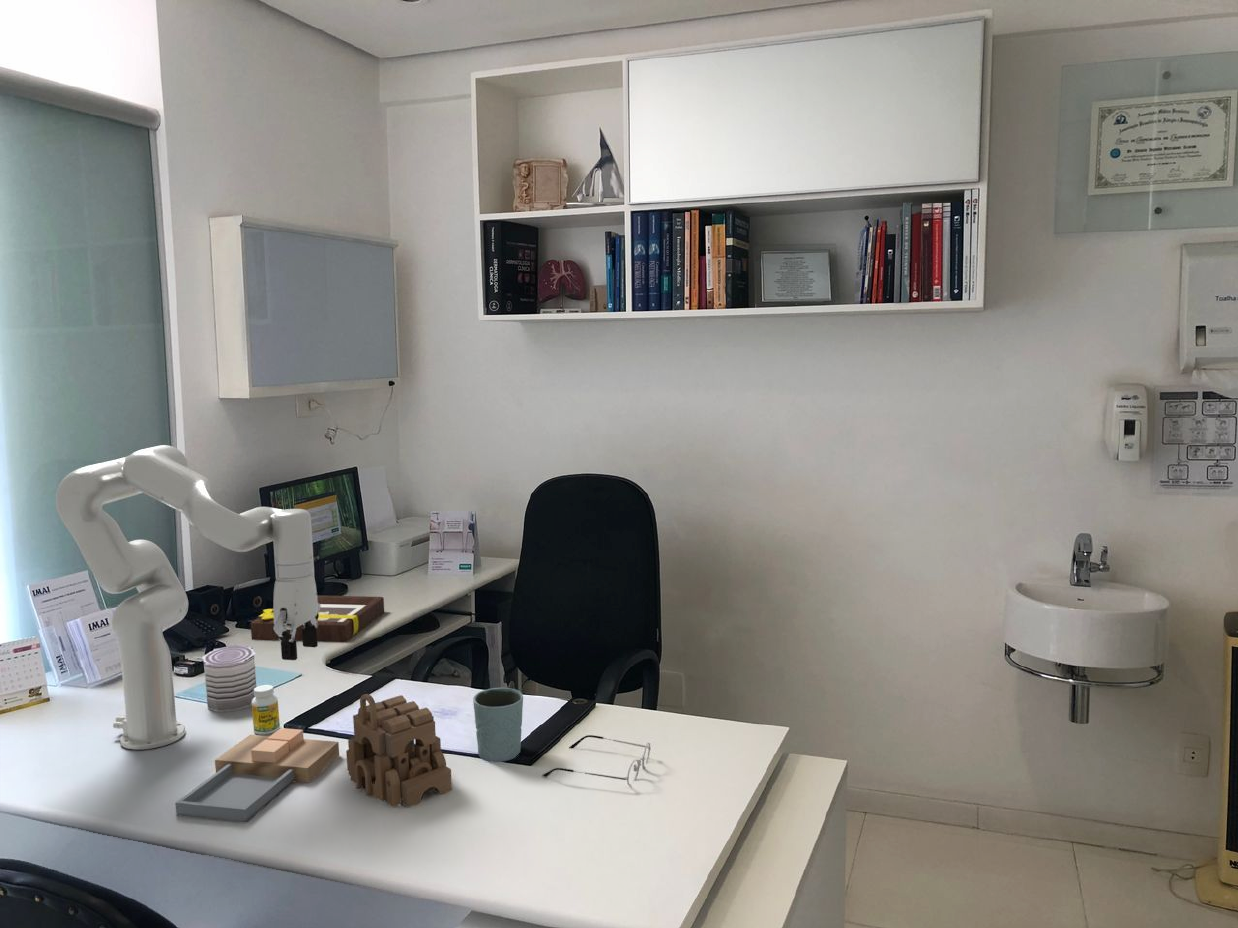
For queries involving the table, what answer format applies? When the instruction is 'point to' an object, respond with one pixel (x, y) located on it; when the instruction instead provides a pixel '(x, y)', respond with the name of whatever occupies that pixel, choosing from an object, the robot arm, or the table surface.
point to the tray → (232, 795)
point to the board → (281, 759)
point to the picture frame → (328, 619)
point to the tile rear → (288, 736)
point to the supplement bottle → (265, 710)
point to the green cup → (498, 723)
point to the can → (230, 678)
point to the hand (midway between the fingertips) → (300, 652)
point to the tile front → (270, 751)
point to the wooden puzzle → (396, 752)
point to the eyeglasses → (607, 775)
